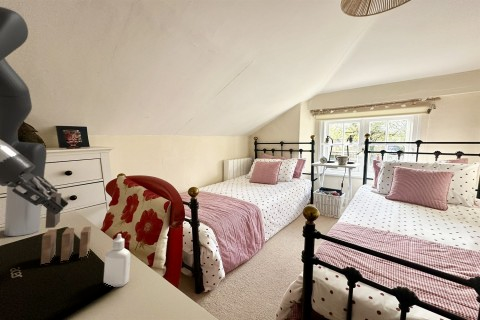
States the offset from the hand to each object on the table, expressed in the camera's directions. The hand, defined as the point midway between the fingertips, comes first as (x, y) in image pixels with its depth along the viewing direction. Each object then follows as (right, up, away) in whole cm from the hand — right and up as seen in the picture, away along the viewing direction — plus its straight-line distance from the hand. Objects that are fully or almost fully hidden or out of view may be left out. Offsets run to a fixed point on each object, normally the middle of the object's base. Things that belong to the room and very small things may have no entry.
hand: (62, 208), depth 57 cm
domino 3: (+1, -16, +7) cm, 17 cm away
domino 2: (-3, -16, +5) cm, 17 cm away
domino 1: (-6, -15, +3) cm, 17 cm away
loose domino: (-2, -4, -1) cm, 5 cm away
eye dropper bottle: (+18, -17, -5) cm, 25 cm away
